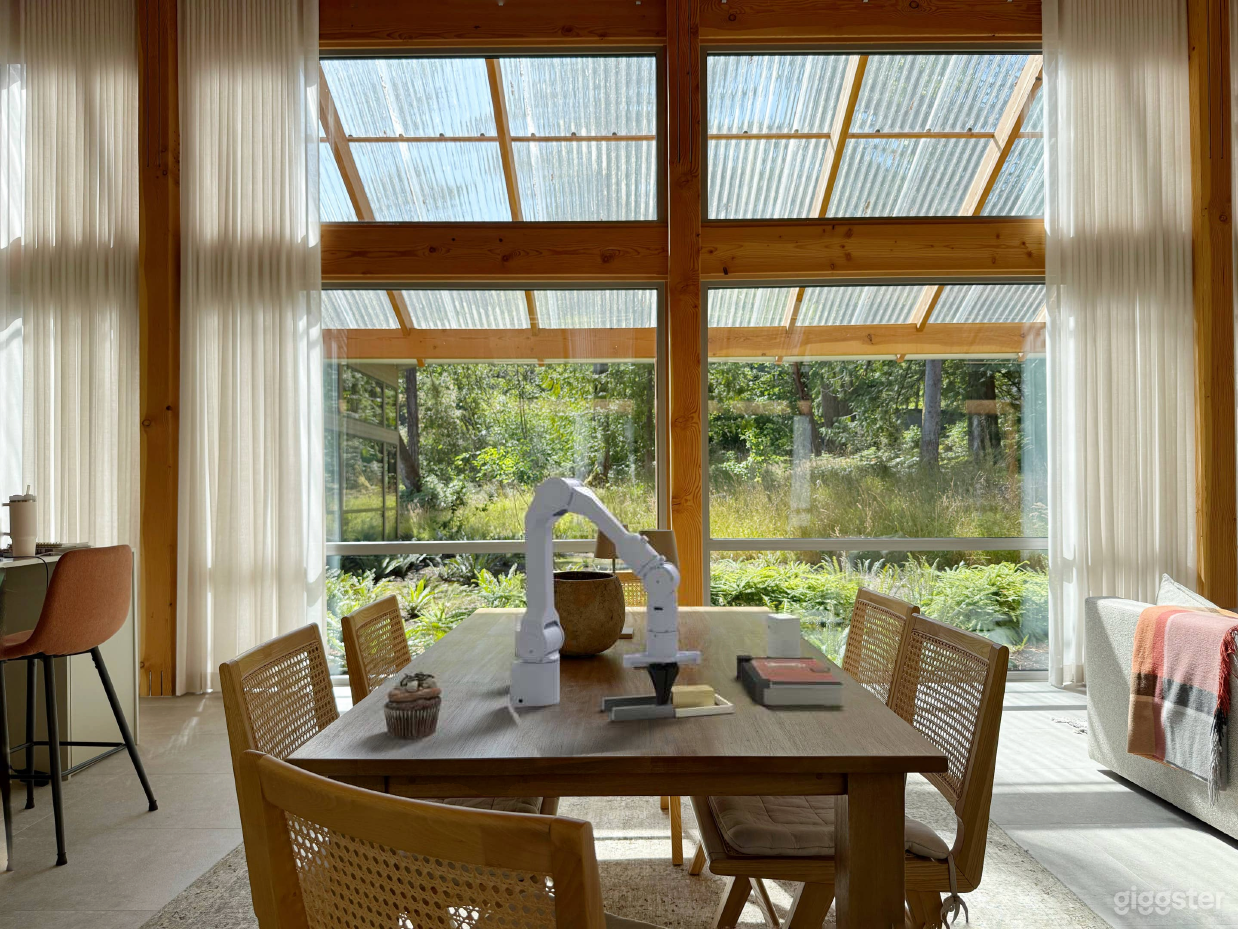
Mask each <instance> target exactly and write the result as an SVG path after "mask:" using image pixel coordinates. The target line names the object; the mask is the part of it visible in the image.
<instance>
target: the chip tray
mask: <svg viewBox="0 0 1238 929" xmlns="http://www.w3.org/2000/svg"><path fill="white" fill-rule="evenodd" d="M715 704H717V705H715V706H710V707H697V708H683V709H675V713H674V717H676V718H681V717H695V716H705V715H706V716H708V715H719V714H720V715H721V714H732V713H735V705H734V704H733V703H731V702H729V701H727V699H725V698H723V697H722V696H720V695H718V694H717V693H715Z"/></svg>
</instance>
